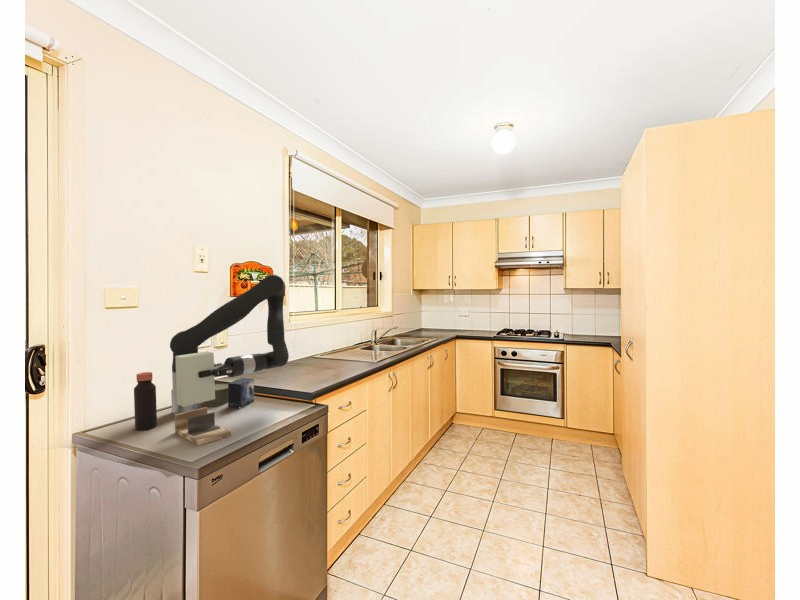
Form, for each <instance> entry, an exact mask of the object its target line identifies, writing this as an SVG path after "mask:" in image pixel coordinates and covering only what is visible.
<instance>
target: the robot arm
mask: <svg viewBox="0 0 800 600" xmlns="http://www.w3.org/2000/svg"><path fill="white" fill-rule="evenodd" d="M285 292H286V285H285V281H284V280H283V278H282V277H281V276H280V275H277V274H270V275H267V276H265V277H264V278H263V279H262V280H260V281H259V282H258V283H256V284H255V285H253V286H252V287H251V288H249V289H248V290H247V291H245V292H242V293H241V294H239V295H237V296H236V297H234V298H233V299H231V300H229V301H227V302H226V303H225V304H222V305H221V306H220V307H217V309H215V310H213V312H211V313H210V314H209V315H207V316H206V317H204V319H203V320H201V321H200V322H199V323H197V324H195V325H194V326H191V327H190V328H188V329H185V330H182V331H180V332H177V333H176V334H175V335H173V336H172V337H171V339H170V342H169V349H170V350H171V352H172V364H171V368H172V369H171V377H172V378H171V379H172V380H171V381H172V388H171V391H170V392H171V394H170V395H171V396H170V397H171V413H173V415H174V416H175V415H176V414H180V413H184V412H188V411H192V410H196V409H200V408H199V407H200V406H199V404H200V403H197V404H193V405H189V406H185V407H183V406H180V405H178V404H177V386H176V360H175V356H179V355H186V354H193V353H199V346H200V345H202V344H203V343H204V342H206V341H207V340H209V339H211V338H212V337H214V336H217V335H218V334H220V333H221V332H224V331H225V330H228V329H229V328H231V327H232V326H234V325H236V324H238V323H239V322H240V321H242V320H244V319H245V317H246V316H248V315H249V314H251V312H252V311H253V310H254V309H255V308H256V307H257V306H259V305H260V303H262V302H263V301H265V300H267V301H266V302H267V309H268V311H267V312H268V313H267V323H266V324H267V325H266V333H267V336H266V337H267V343H268V344H269V345H270V346H271V347H272V350H273V351H272V350H271V351H268V352H263V353H252V354H244V355H238V356H237V355H235V356H231V357H230V356H229V357H227V358H226V359H225V361H224V362H223V363H222V362H217V363H215V362H214V369H210V370H205V371H200V372H199V373H198V376H199V378H203V377H208V376H211V377H213V376H214V378H218V377H225V376H227V377H228V378H234V377H239V376H244V375H247V374H251V373H256V372H261V371H263V370H268V369H275V368H280V367H284V366H286V365H287V364H288V362H289V356H290V355H289V351H288V347H287V343H286V339H285V323H284V299H285V294H286V293H285Z"/></svg>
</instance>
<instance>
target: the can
mask: <svg viewBox="0 0 800 600" xmlns="http://www.w3.org/2000/svg"><path fill="white" fill-rule="evenodd" d="M225 403H226V404H228V383H215V399H213V400H209V401H205V402H201V404H202V405H203V406H205V405H206V406H205V407H216V405H217V406H222V404H223V405H225Z"/></svg>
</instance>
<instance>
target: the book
mask: <svg viewBox="0 0 800 600" xmlns="http://www.w3.org/2000/svg"><path fill="white" fill-rule="evenodd" d="M175 360H176V386H177V404H178V405H180V406H183V407H185V406H189V405H193V404H197V403H199V404H200V403H201V404H202V402H205V401H209V400H213V399H215V384H216V382H215V377H214V376H213V377H211V376H208V377H203V378H199V376H198V373H199V372H200V371H205V370H210V369H214V363H215V356H214V352H212V351H211V352H210V351H202V352H201V351H200V352H198V353H193V354H186V355H179V356H175Z"/></svg>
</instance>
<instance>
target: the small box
mask: <svg viewBox="0 0 800 600" xmlns="http://www.w3.org/2000/svg"><path fill="white" fill-rule="evenodd" d="M227 384H228V403H227V407H228V408H236V407H241V408H243V407H245V406H247V405H249V404H251V403H253V402H254V401H255V379H254V378H250V377H249V378H247V377H240V378H238V379H235V380H232V381H230V382H228V383H227ZM252 401H253V402H252ZM250 402H251V403H250ZM248 403H249V404H248ZM246 404H247V405H246Z"/></svg>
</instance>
